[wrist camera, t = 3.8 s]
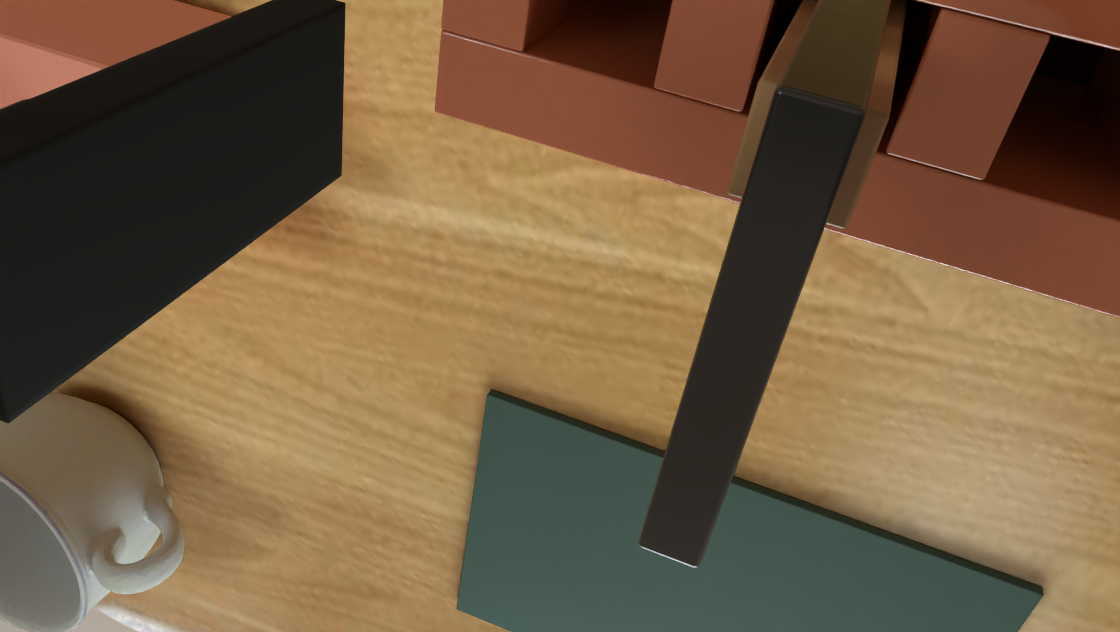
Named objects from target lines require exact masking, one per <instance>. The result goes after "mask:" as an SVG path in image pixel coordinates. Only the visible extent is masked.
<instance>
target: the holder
mask: <svg viewBox="0 0 1120 632" xmlns="http://www.w3.org/2000/svg"><path fill="white" fill-rule="evenodd" d="M914 1H916V3H915V6H914V9H913V11H912V14H911V17H910V19H909V22H908V25H907V28H906V30H905V33H904V36H903V39H902V41H901V47H900V53H899V60H898V66H897V72H896V79H895V85H894V91H893V98H892V104H891V110H890V117H889V120H888V123H887V125H886V128H885V131H884V133H883V136H882V138H881V141H880V144H879V146H878V149H877V151H876V154H875V157H874V159H873V162H872V164H871V167H870V170H869V172H868V175H867V178H866V180H865V183H864V185H863V188H862V191H861V193H860V196H859V198H858V201H857V204H856V206H855V209H854V211H853V214H852V217H851V219H850V222H849V224H848V226H847V227H846V228H845V229H841V228H838V227H834V226H831V225H828V224H826V225H825V228H824V229H826V230H829V231H833V232H836V233H839V234H843V235H846V236H849V237H853V238H856V239H859V240H863V241H866V242H869V243H873V244H876V245H879V246H883V247H886V248H889V249H893V250H896V251H899V252H903V253H906V254H909V255H913V256H916V257H919V258H922V259H926V260H929V261H932V262H936V263H939V264H942V265H946V266H949V267H952V268H956V269H959V270H962V271H966V272H969V273H972V274H976V275H979V276H982V277H986V278H989V279H992V280H996V281H999V282H1002V283H1006V284H1009V285H1012V286H1016V287H1019V288H1022V289H1025V290H1029V291H1032V292H1035V293H1039V294H1042V295H1045V296H1049V297H1052V298H1055V299H1059V300H1062V301H1065V302H1069V303H1072V304H1075V305H1079V306H1082V307H1085V308H1089V309H1092V310H1095V311H1099V312H1102V313H1105V314H1109V315H1112V316H1115V317H1119V318H1120V0H914ZM800 2H801V0H444V2H443V14H442V27H441V28H442V29H443V30H442V32H441V42H440V54H439V66H438V78H437V90H436V103H435V112H437V113H441V114H444V115H447V116H451V117H454V118H457V119H461V120H464V121H467V122H471V123H474V124H477V125H481V126H484V127H487V128H491V129H494V130H497V131H500V132H504V133H507V134H510V135H514V136H517V137H520V138H524V139H527V140H530V141H534V142H537V143H540V144H544V145H547V146H550V147H554V148H557V149H560V150H564V151H567V152H570V153H574V154H577V155H580V156H584V157H587V158H590V159H594V160H597V161H600V162H603V163H607V164H610V165H613V166H617V167H620V168H623V169H627V170H630V171H633V172H637V173H640V174H643V175H647V176H650V177H653V178H657V179H660V180H663V181H667V182H670V183H673V184H677V185H680V186H683V187H687V188H690V189H693V190H697V191H700V192H703V193H706V194H710V195H713V196H716V197H720V198H723V199H726V200H730V201H733V202H736V203H741V200H742V199H741V198H738V197H734V196H731V195H729V194H728V193H727V188H728V184H729V181H730V177H731V174H732V170H733V167H734V163H735V160H736V157H737V153H738V150H739V146H740V143H741V139H742V136H743V132H744V129H745V126H746V122H747V119H748V115H749V112H750V108H751V105H752V101H753V98H754V95H755V91H756V88H757V84H758V82H759V80H760V78H761V76H762V74H763V72H764V71H765V69H766V67H767V65H768V63H769V61H770V60H771V58H772V56H773V54H774V52H775V50H776V49H777V47H778V45H779V43H780V41H781V39H782V38H783V36H784V34H785V32H786V30H787V28H788V27H789V25H790V23H791V21H792V19H793V17H794V16H795V14H796V12H797V10H798V8H799V5H800ZM1050 34H1051V35H1055V36H1059V37H1063V38H1067V39H1071V40H1075V41H1079V42H1084V43H1088V44H1092V45H1096V46H1100V47H1104V48H1106V50H1105V52H1104V54H1103V56H1102V58H1101V60H1100V62H1099V64H1098V66H1097V68H1096V70H1095V72H1094V74H1093V76H1092V78H1091V80H1090V82H1089V84H1088V86H1085V85H1081V84H1077V83H1073V82H1069V81H1065V80H1062V79H1058V78H1054V77H1050V76H1046V75H1042V74H1038V73H1035V70H1036V68H1037V66H1038V64H1039V62H1040V60H1041V58H1042V55H1043V53H1044V51H1045V49H1046V47H1047V45H1048V43H1049V40H1050Z"/></svg>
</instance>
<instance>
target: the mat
mask: <svg viewBox="0 0 1120 632" xmlns="http://www.w3.org/2000/svg"><path fill="white" fill-rule="evenodd" d="M664 454H665V452H664V451H661V450H658V449H656V448H653V447H650V446H647V445H645V444H642V443H639V442H636V441H633V440H631V439H628V438H625V437H622V436H619V435H617V434H614V433H611V432H608V431H606V430H603V429H600V428H597V427H594V426H592V425H589V424H586V423H583V422H581V421H578V420H575V419H572V418H569V417H567V416H564V415H561V414H558V413H556V412H553V411H550V410H547V409H544V408H542V407H539V406H536V405H533V404H531V403H528V402H525V401H522V400H519V399H517V398H514V397H511V396H508V395H506V394H503V393H500V392H497V391H494V390H490V392H489V393H488V394H487V401H486V408H485V415H484V422H483V429H482V436H481V443H480V450H479V457H478V464H477V470H476V477H475V484H474V491H473V498H472V505H471V512H470V519H469V526H468V533H467V540H466V547H465V554H464V561H463V568H462V574H461V581H460V588H459V595H458V602H457V609H458V610H460V611H462V612H465V613H467V614H470V615H472V616H475V617H477V618H479V619H482V620H484V621H487V622H489V623H492V624H494V625H496V626H499V627H501V628H504V629H506V630H508V631H511V632H1017V631H1018V630H1019V629H1020V627H1021V626H1022V624H1023V623H1024V622H1025V620H1026V619H1027V617H1028V616H1029V615H1030V613H1031V612H1032V610H1033V609H1034V608H1035V606H1036V605H1037V603H1038V602H1039V600H1040V599H1041V598H1042V596H1043V588H1042V587H1039V586H1036V585H1034V584H1031V583H1028V582H1025V581H1023V580H1020V579H1017V578H1014V577H1011V576H1009V575H1006V574H1003V573H1000V572H998V571H995V570H992V569H989V568H986V567H984V566H981V565H978V564H975V563H973V562H970V561H967V560H964V559H961V558H959V557H956V556H953V555H950V554H948V553H945V552H942V551H939V550H936V549H934V548H931V547H928V546H925V545H922V544H920V543H917V542H914V541H911V540H909V539H906V538H903V537H900V536H897V535H895V534H892V533H889V532H886V531H884V530H881V529H878V528H875V527H872V526H870V525H867V524H864V523H861V522H859V521H856V520H853V519H850V518H847V517H845V516H842V515H839V514H836V513H834V512H831V511H828V510H825V509H822V508H820V507H817V506H814V505H811V504H809V503H806V502H803V501H800V500H797V499H795V498H792V497H789V496H786V495H783V494H781V493H778V492H775V491H772V490H770V489H767V488H764V487H761V486H758V485H756V484H753V483H750V482H747V481H745V480H742V479H739V478H736V477H733V478H732V480H731V483H730V486H729V489H728V491H727V494H726V497H725V500H724V502H723V505H722V508H721V510H720V513H719V516H718V519H717V521H716V524H715V527H714V529H713V532H712V535H711V538H710V540H709V543H708V546H707V548H706V551H705V554H704V557H703V559H702V562H701V564H700V565H699V566H698V567H697V568H693V567H691V566H688V565H686V564H683V563H680V562H678V561H675V560H673V559H670V558H667V557H665V556H662V555H659V554H657V553H654V552H652V551H649V550H646V549H644V548H641V547H640V546H639V541H638V540H639V537H640V533H641V530H642V527H643V523H644V520H645V517H646V514H647V510H648V507H649V504H650V500H651V497H652V494H653V490H654V487H655V484H656V481H657V477H658V474H659V471H660V467H661V464H662V461H663V457H664Z"/></svg>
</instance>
